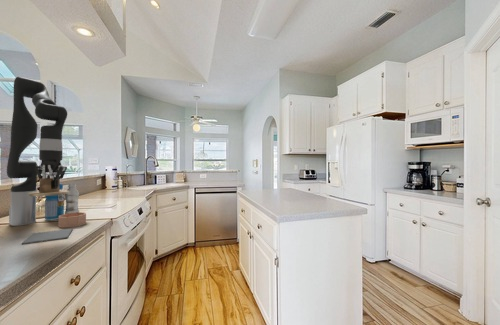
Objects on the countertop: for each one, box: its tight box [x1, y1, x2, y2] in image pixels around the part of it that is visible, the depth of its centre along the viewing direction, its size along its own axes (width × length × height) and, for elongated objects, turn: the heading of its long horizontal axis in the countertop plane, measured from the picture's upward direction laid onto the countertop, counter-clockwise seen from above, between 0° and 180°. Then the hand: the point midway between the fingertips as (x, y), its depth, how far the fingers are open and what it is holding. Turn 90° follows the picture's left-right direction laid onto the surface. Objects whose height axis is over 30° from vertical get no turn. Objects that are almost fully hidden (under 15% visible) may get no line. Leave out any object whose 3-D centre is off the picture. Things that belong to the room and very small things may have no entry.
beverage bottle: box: [44, 183, 65, 221], centre depth 125 cm, size 8×8×20 cm
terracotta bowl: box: [58, 211, 87, 229], centre depth 114 cm, size 11×11×5 cm
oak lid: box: [29, 177, 69, 197], centre depth 95 cm, size 13×13×7 cm
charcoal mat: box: [21, 228, 74, 245], centre depth 95 cm, size 14×14×1 cm
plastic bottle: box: [64, 183, 80, 214], centre depth 126 cm, size 6×7×20 cm
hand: (50, 188), depth 96 cm, fingers closed on oak lid, 3 cm apart
